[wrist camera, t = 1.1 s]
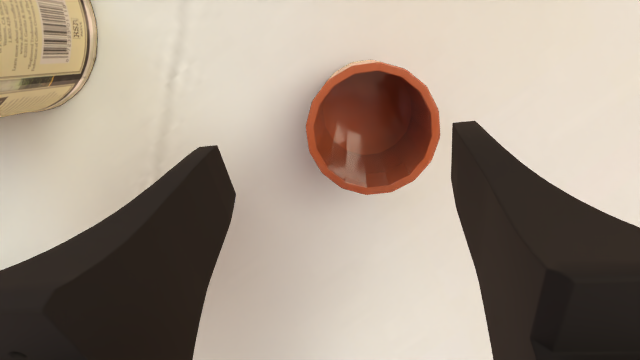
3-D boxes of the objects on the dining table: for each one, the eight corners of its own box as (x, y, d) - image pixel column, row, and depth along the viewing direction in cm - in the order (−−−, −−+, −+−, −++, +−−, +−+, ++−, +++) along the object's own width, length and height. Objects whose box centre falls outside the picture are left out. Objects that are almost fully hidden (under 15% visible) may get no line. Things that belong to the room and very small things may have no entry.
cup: (419, 151, 26) (443, 187, 19) (325, 162, 26) (316, 200, 19) (412, 53, 24) (435, 54, 17) (312, 67, 25) (297, 73, 18)
